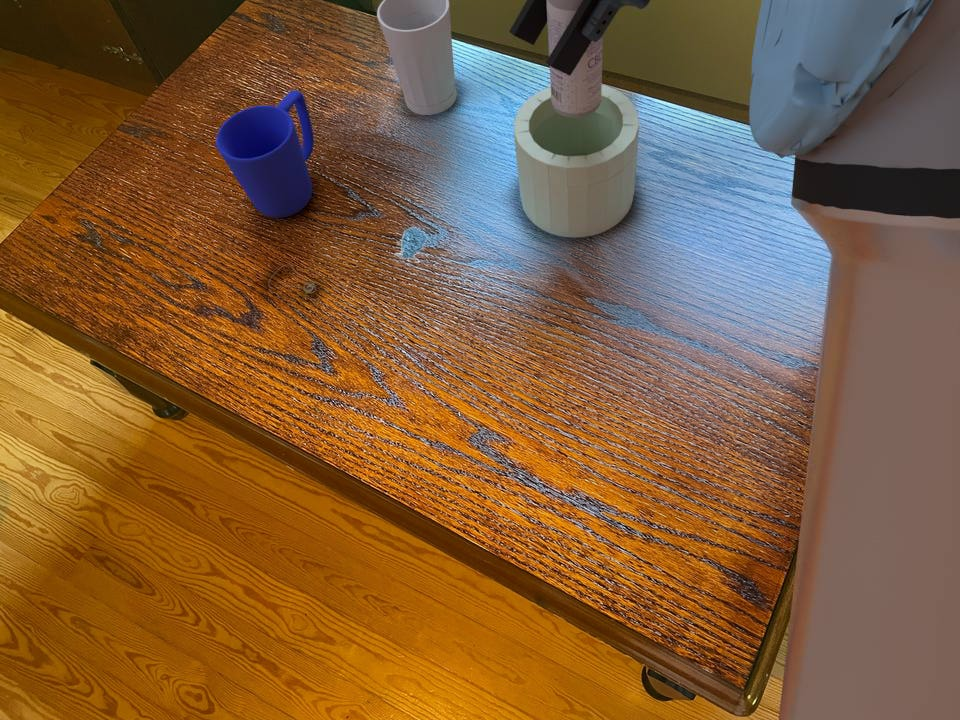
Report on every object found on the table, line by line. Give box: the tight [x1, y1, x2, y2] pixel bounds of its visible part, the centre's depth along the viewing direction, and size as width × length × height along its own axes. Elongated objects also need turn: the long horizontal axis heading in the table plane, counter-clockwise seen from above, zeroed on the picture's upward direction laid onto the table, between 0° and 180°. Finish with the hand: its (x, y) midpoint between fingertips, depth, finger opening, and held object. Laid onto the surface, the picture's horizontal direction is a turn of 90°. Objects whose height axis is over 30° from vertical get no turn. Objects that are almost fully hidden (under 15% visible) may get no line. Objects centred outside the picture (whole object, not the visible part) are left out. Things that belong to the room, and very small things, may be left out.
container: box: [546, 0, 604, 118], centre depth 68 cm, size 5×5×15 cm
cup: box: [376, 0, 458, 116], centre depth 91 cm, size 8×8×12 cm
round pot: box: [513, 83, 640, 239], centre depth 80 cm, size 12×12×10 cm
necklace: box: [268, 264, 317, 294], centre depth 82 cm, size 3×5×1 cm, turn 81°
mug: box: [215, 89, 315, 219], centre depth 86 cm, size 8×12×10 cm
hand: (539, 53), depth 67 cm, fingers closed on container, 5 cm apart
